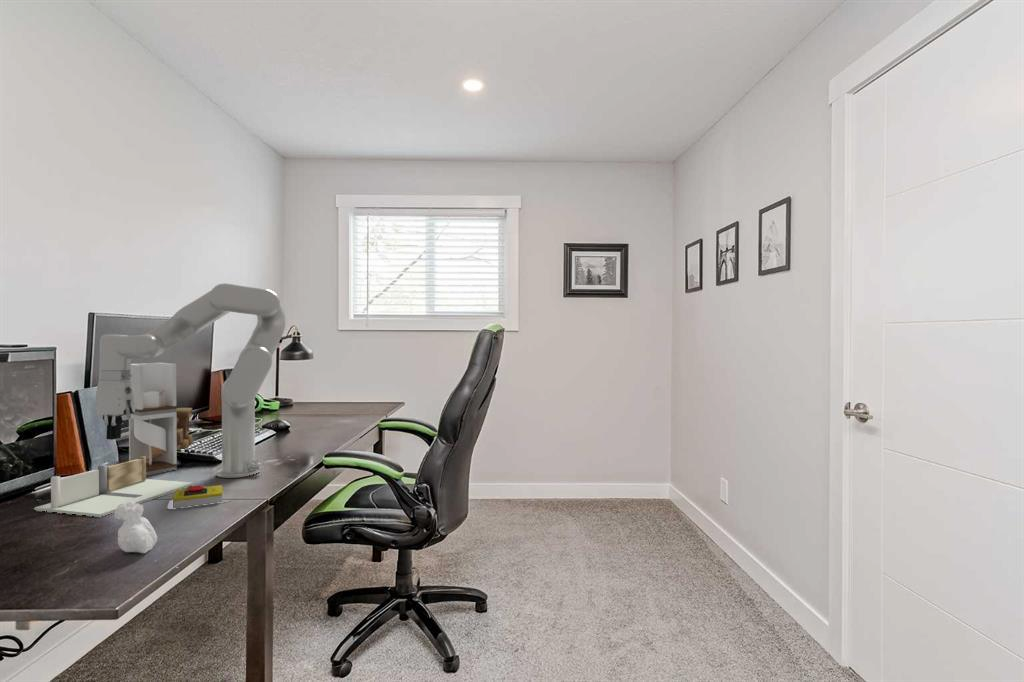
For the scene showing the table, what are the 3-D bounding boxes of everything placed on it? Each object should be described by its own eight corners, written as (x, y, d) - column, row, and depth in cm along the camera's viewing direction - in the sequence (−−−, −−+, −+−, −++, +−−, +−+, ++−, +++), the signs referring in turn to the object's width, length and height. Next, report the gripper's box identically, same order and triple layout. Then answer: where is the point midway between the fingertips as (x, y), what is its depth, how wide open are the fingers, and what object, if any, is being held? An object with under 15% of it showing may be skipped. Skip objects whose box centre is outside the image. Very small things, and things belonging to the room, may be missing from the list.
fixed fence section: (103, 491, 153) (102, 464, 153) (108, 492, 153) (108, 464, 153) (48, 508, 139) (48, 477, 139) (55, 508, 139) (54, 478, 139)
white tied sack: (138, 550, 121) (98, 514, 117) (170, 524, 123) (132, 489, 120) (133, 570, 110) (90, 532, 107) (168, 541, 113) (127, 504, 110)
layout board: (194, 485, 163) (193, 482, 163) (100, 517, 135) (100, 513, 135) (136, 480, 168) (136, 477, 168) (34, 510, 140) (34, 507, 140)
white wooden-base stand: (125, 471, 179) (124, 364, 178) (161, 465, 188) (160, 362, 187) (140, 476, 172) (139, 365, 172) (176, 470, 181) (176, 363, 181)
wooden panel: (110, 490, 153) (110, 465, 153) (105, 490, 154) (104, 465, 154) (147, 479, 165) (147, 456, 165) (142, 479, 165) (142, 455, 165)
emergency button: (168, 486, 149) (231, 479, 156) (168, 502, 149) (231, 494, 156) (166, 495, 140) (231, 487, 148) (166, 512, 141) (231, 503, 148)
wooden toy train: (160, 452, 208) (160, 408, 207) (195, 449, 212) (194, 406, 212) (149, 464, 189) (149, 415, 189) (187, 461, 194) (187, 414, 194)
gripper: (147, 376, 164) (145, 438, 164) (106, 374, 167) (105, 434, 167) (124, 378, 156) (122, 442, 156) (82, 376, 160) (80, 439, 160)
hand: (113, 438), depth 162 cm, fingers closed
